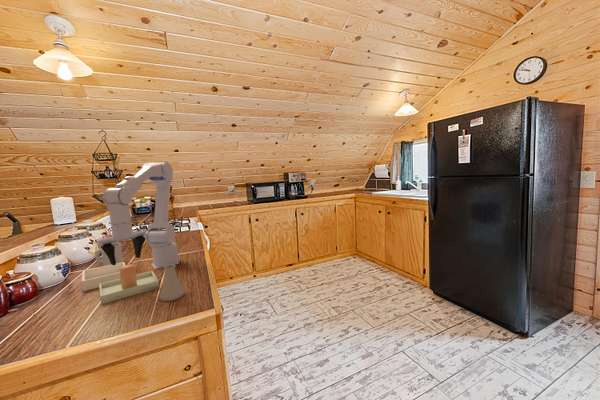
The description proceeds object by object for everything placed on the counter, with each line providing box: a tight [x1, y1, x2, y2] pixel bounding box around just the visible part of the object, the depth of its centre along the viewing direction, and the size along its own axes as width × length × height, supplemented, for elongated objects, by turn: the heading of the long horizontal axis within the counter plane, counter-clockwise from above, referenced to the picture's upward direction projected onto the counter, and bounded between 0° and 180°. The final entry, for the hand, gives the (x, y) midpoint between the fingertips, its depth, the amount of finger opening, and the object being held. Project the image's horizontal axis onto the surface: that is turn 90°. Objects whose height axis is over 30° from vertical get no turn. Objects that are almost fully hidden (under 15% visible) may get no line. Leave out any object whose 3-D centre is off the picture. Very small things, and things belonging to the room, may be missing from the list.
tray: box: [99, 270, 160, 305], centre depth 88 cm, size 16×12×2 cm
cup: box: [94, 242, 124, 266], centre depth 113 cm, size 7×10×9 cm
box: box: [81, 261, 126, 292], centre depth 96 cm, size 13×13×4 cm
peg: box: [119, 264, 137, 289], centre depth 88 cm, size 4×4×7 cm
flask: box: [159, 264, 186, 302], centre depth 82 cm, size 7×7×10 cm
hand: (126, 260), depth 90 cm, fingers open, 7 cm apart
